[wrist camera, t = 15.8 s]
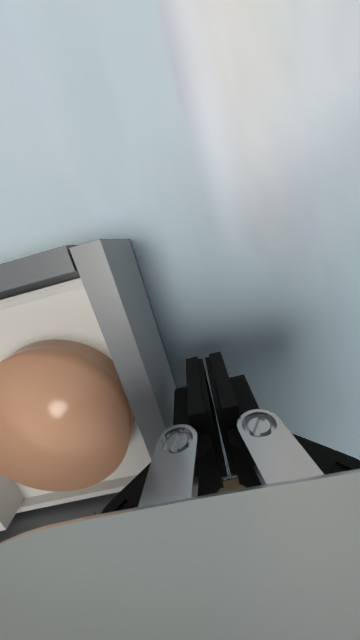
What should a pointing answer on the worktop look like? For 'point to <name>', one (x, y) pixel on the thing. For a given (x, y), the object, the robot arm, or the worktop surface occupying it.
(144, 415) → the tray
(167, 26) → the worktop surface
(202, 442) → the robot arm
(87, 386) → the tan domed disc
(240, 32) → the worktop surface
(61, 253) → the housing
